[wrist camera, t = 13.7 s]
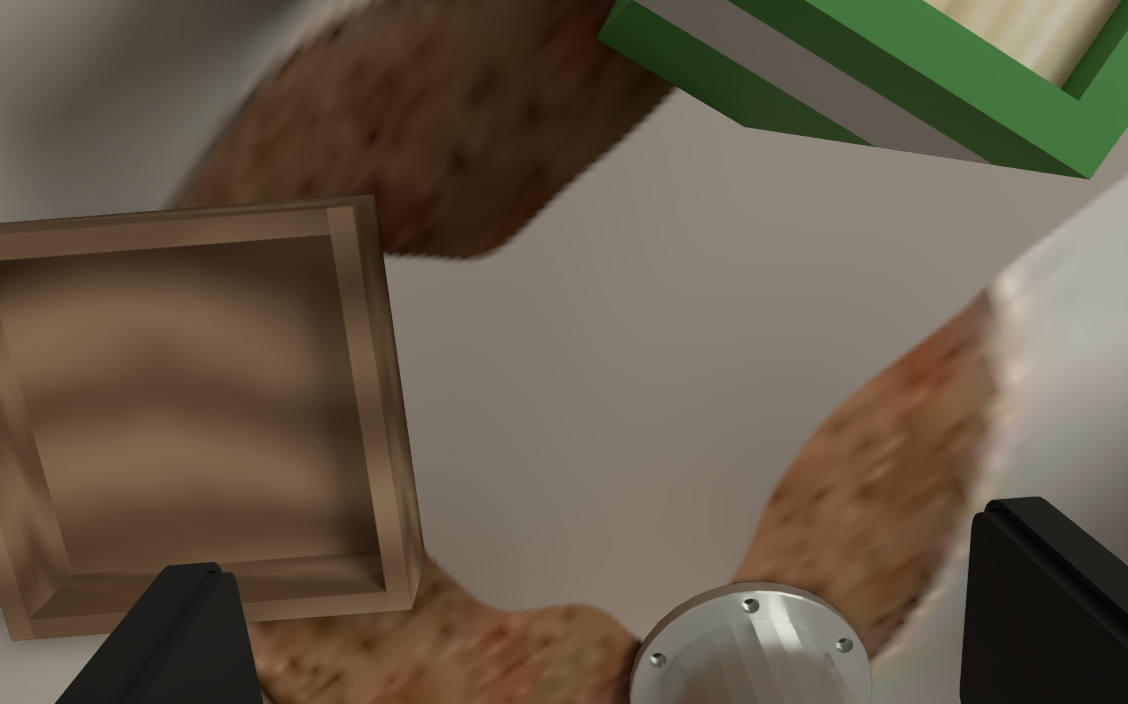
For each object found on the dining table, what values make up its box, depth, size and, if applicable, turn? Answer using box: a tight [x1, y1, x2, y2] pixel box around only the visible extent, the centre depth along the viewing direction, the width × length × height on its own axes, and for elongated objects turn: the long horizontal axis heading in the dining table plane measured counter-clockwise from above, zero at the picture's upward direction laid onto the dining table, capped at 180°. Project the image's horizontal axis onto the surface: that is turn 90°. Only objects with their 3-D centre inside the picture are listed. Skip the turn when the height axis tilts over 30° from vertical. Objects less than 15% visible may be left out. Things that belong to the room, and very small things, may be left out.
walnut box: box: [0, 194, 425, 641], centre depth 37 cm, size 18×18×4 cm
